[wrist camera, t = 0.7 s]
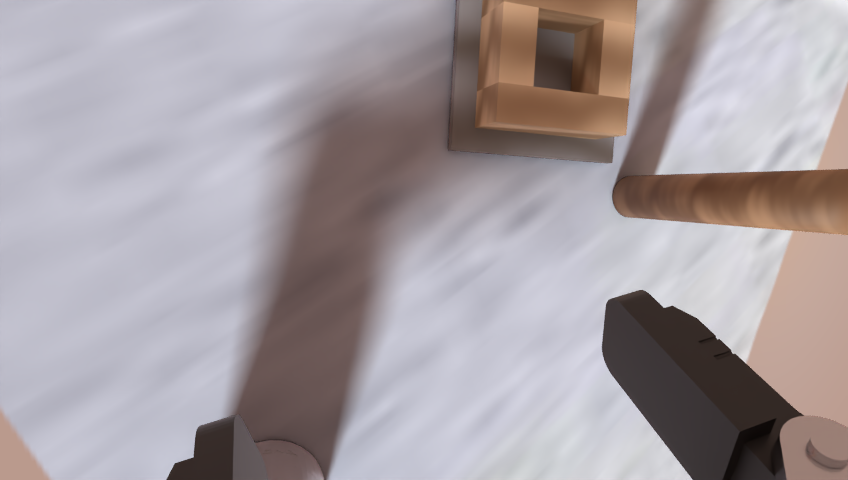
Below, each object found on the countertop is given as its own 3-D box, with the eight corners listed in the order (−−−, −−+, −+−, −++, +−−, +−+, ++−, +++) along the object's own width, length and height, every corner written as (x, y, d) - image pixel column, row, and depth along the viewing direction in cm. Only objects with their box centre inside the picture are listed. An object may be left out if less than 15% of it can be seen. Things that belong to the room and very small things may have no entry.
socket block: (606, 163, 50) (643, 160, 45) (448, 150, 45) (470, 145, 40) (620, -12, 48) (660, -34, 44) (459, -45, 44) (483, -73, 39)
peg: (645, 218, 52) (870, 235, 33) (611, 216, 50) (824, 233, 31) (649, 177, 51) (878, 171, 32) (614, 174, 50) (832, 166, 31)
